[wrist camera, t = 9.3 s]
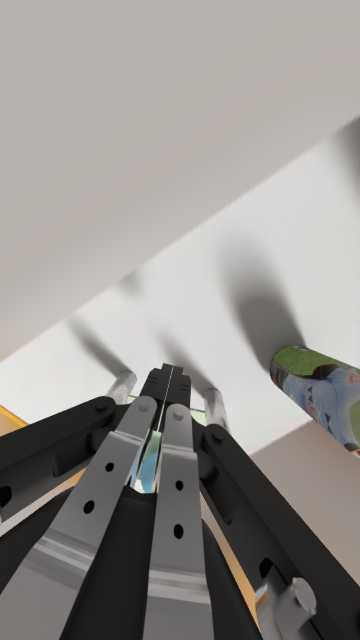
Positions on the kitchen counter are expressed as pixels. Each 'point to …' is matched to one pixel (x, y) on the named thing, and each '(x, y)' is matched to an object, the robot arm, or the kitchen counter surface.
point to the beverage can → (322, 391)
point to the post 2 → (215, 409)
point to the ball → (148, 472)
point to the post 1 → (122, 387)
